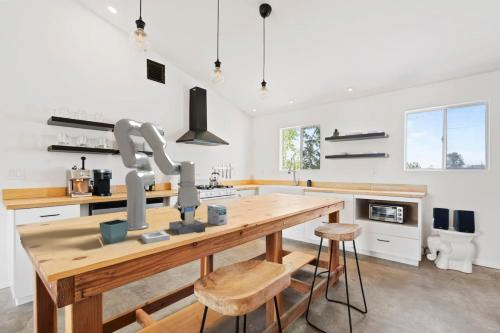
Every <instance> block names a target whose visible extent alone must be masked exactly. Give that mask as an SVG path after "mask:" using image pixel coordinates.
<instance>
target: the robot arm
mask: <svg viewBox="0 0 500 333" xmlns="http://www.w3.org/2000/svg"><path fill="white" fill-rule="evenodd" d="M164 132H165V131H164V129H163V127H162V126H160V125H159V124H156V123H153V122H150V121H149V122H148V121H147V122H141V121H137V120H135V119H130V118H121V119H118V121H116V123H115V124H114V127H113V136H114V138H115V139H114V140H115V141H116V142H115V143H116V144H117V147H118V151H119V154H120V157H121V160H122V163H123V165H124V167H125V168H127V169H130V171H129V172H127V173H126V175H125V177H124V178H125V180H124V181H125V186H126V219H121V220H123V221H128V222H129V225H128V231H136V230H137V231H139V230H144V229H147V228H148V227H150V226H149V225H150V224H149V223H147V193H146V189H145V187H149V186H152V185H153V184H154V183H155V180H156V178H155V177H156V176H155V172H154V169H153V165H152V163H151V160H150V157H149V156H148V155H147V154H146V153H144V152H139V151H138V150H137V147H136V144H135V141H134V140H133V138H132V137H131V136H133V137H139V138H143V139H144V140H145V142H146V143H147V144H148V146H149V149H151V151H152V157H153V158H152V159H153V161H154V164H155V165H156V167H157V168H158V169H159V171H160V172H161V173H162V174H163V175H165V176H179V182H177V186H179V187H178V191H177V199H176V200H177V201H176V203H175V204H174V206H173V208H175V209H176V210H177V211H178V212H179V213H180V221H182V220H185V213H184V208H185V207H194V218H195V217H196V211H197V209H198V208H199V207H200V206H201V203H200V201H199V194H198V188H197V187H196V179H195V178H196V177H195V176H196V174H195V172H196V170H195V169H196V167H195V166H196V165H195V164H196V163H195V162H194V161H191V160H187V161H185V160H184V161H179V160H178V161H177V160H171V159H170V158H169V156H168V155H167V153H166V150H165V149H166V148H167V145H168V144H167V141H166V140H165V138H164V137H163V136H164ZM132 169H133V170H132Z"/></svg>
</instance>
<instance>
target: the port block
mask: <svg viewBox="0 0 500 333" xmlns="http://www.w3.org/2000/svg"><path fill="white" fill-rule="evenodd" d="M168 224H169V225H168V226H169V227H168V229H169V230H170V231H172V232H174V233H175V234H177V235H179V236H181V235H186V234H192V233H196V234H199V233H205V232H206V223H204V222H202V221H199V220H197V219H195V218H194V224H189V225H182V220H177V221H176V220H175V221H169V223H168Z"/></svg>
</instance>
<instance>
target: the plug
mask: <svg viewBox="0 0 500 333" xmlns="http://www.w3.org/2000/svg"><path fill="white" fill-rule="evenodd" d="M184 213H185V220H181V221H182V225H189V224H194V219H195V217H194V207H191V206H190V207H185V208H184Z"/></svg>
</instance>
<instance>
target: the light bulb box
mask: <svg viewBox="0 0 500 333" xmlns="http://www.w3.org/2000/svg"><path fill="white" fill-rule="evenodd" d="M206 212H207V218H206V219H207V224H210V225H211V224H212V225H216V226H222V225H227V224H228V206H227V205H222V204H216V203H215V204H208V205H207V211H206Z"/></svg>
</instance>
